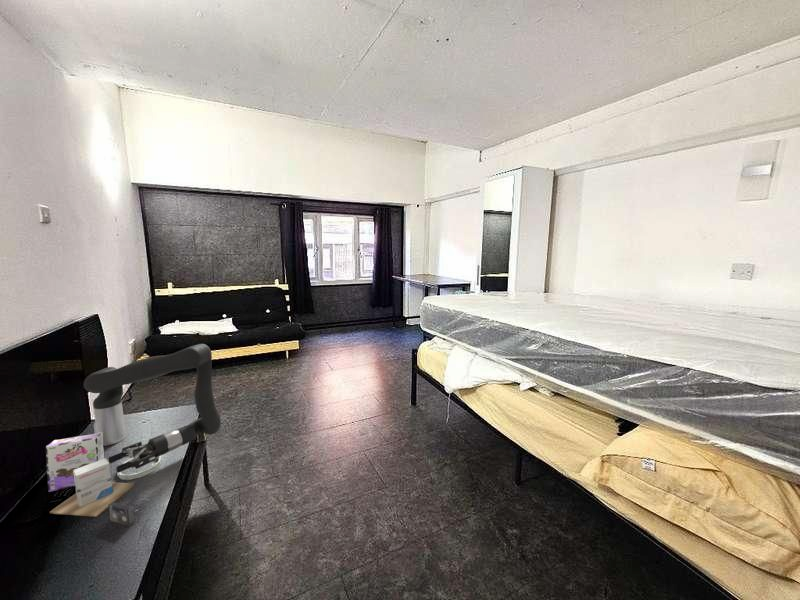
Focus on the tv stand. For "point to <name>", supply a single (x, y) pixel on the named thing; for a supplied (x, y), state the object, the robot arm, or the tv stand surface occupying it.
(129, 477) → the ceramic dish
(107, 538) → the tv stand surface
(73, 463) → the candy box
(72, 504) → the wooden board
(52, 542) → the tv stand surface
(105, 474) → the ink box
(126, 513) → the mini dv tape
